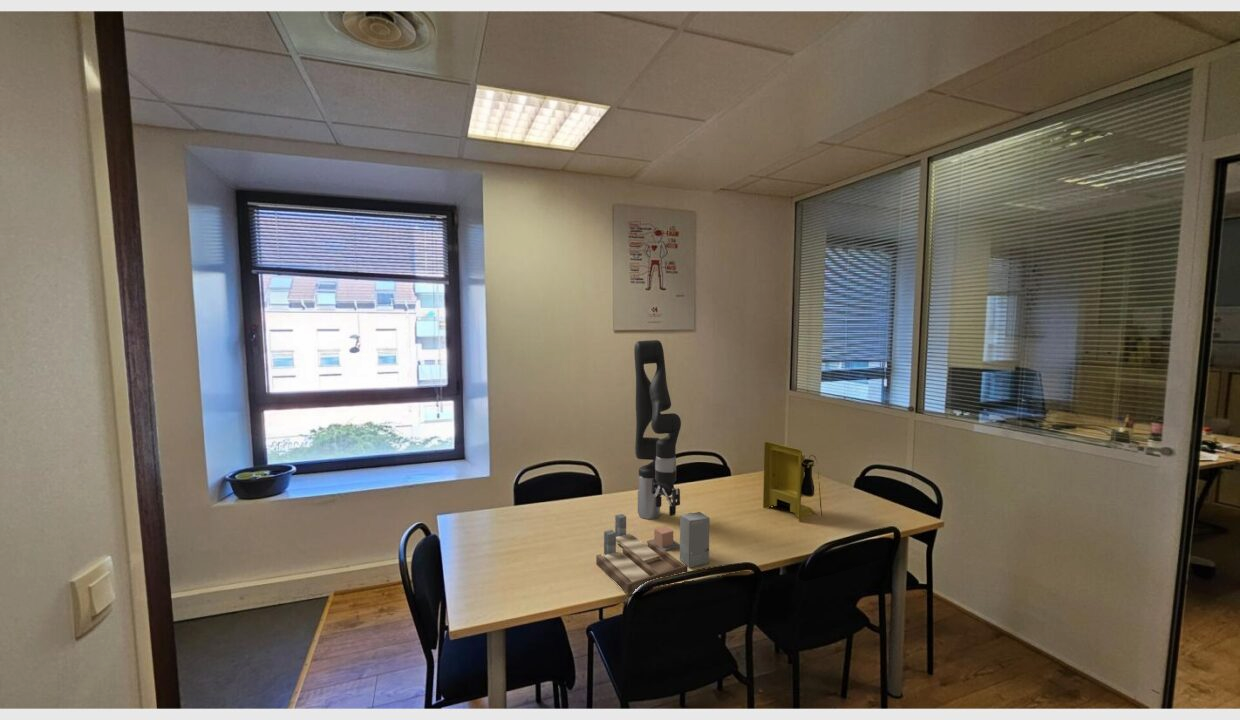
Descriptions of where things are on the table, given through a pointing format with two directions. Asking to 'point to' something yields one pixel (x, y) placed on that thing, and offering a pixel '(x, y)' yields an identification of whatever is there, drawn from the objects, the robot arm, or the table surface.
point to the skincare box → (694, 539)
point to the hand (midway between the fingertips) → (665, 510)
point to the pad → (674, 545)
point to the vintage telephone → (787, 478)
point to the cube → (663, 536)
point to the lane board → (643, 568)
